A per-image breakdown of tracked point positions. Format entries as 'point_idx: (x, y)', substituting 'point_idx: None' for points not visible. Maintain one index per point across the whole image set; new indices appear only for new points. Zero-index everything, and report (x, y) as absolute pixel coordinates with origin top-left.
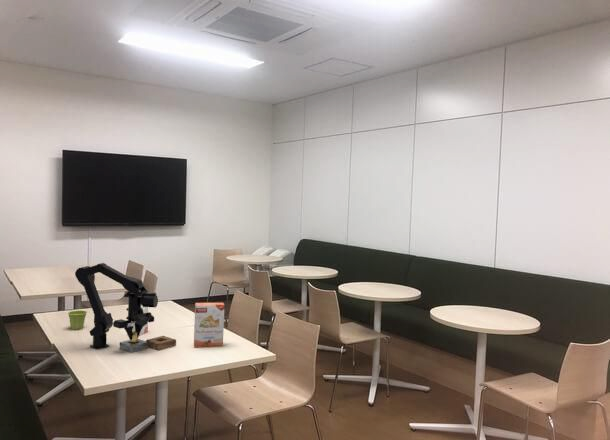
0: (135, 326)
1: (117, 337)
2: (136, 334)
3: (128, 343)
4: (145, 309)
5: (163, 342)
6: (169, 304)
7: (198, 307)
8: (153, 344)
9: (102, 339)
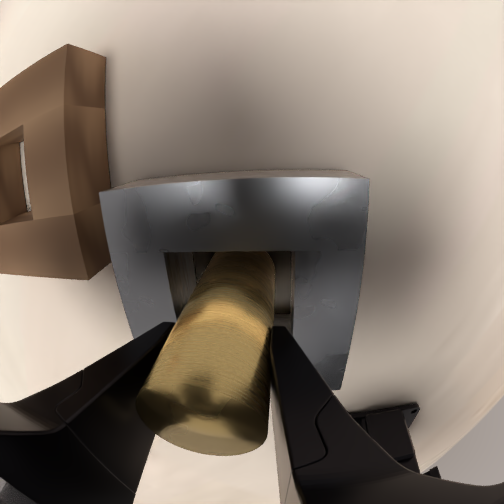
0: (126, 495)
1: (206, 464)
2: (182, 349)
3: (310, 311)
4: None
5: (22, 83)
6: None
7: None
8: (79, 136)
9: (408, 450)
